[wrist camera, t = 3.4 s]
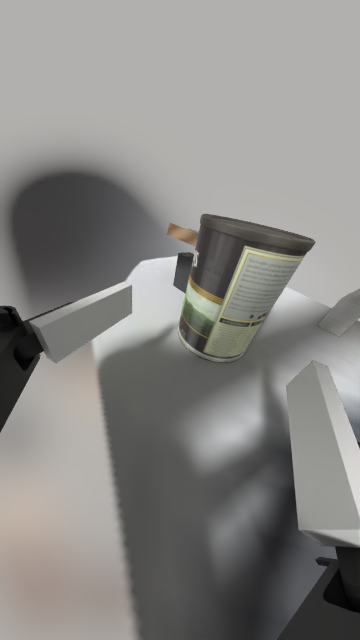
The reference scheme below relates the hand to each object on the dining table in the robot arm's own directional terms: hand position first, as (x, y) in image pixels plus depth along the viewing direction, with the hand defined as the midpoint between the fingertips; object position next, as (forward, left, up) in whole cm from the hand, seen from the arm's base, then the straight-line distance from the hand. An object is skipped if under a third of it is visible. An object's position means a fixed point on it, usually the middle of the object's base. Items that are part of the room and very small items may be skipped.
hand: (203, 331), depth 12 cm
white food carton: (-8, -34, -8) cm, 36 cm away
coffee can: (+4, -9, -8) cm, 12 cm away
